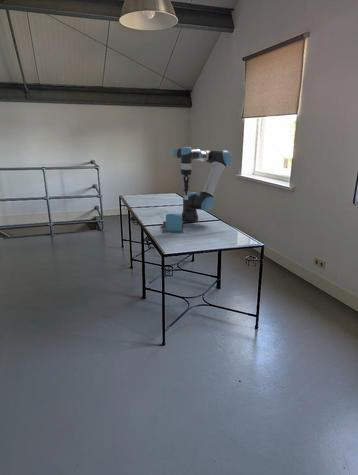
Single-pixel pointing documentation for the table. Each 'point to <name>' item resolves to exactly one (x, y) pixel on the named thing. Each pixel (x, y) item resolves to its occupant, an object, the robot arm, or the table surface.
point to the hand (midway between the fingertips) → (186, 197)
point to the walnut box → (165, 224)
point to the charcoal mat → (171, 231)
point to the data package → (173, 222)
